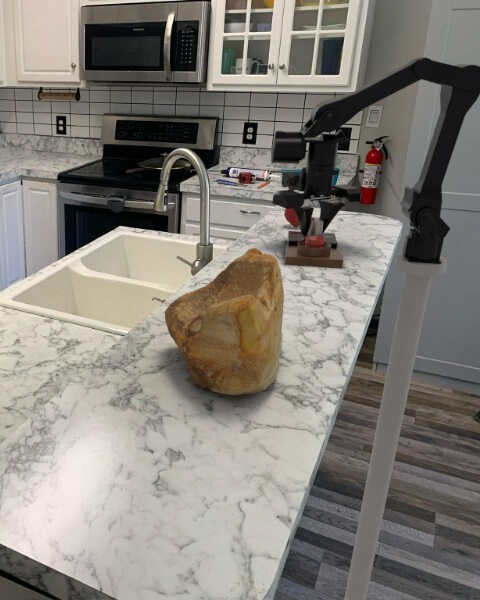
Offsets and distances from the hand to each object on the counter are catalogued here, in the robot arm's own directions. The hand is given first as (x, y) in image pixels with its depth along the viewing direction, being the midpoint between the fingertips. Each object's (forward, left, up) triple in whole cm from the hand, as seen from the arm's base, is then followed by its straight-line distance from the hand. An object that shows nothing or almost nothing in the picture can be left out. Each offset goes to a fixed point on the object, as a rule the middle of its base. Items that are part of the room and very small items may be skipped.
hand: (312, 234), depth 136 cm
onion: (+3, -17, -3) cm, 18 cm away
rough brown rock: (+15, +60, -3) cm, 62 cm away
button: (0, +9, 0) cm, 9 cm away
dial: (0, 0, 0) cm, 0 cm away
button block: (0, +9, -3) cm, 10 cm away
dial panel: (0, 0, -3) cm, 3 cm away
